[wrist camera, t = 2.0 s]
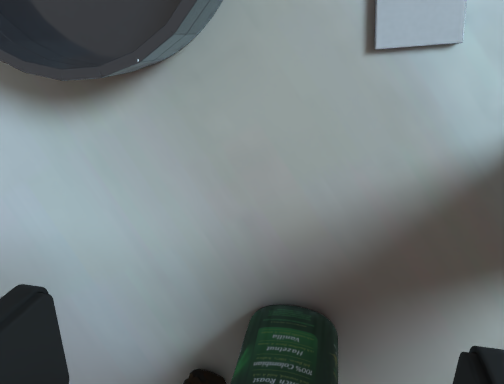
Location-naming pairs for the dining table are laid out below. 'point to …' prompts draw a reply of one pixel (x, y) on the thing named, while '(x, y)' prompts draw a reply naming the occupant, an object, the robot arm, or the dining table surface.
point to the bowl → (96, 34)
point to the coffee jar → (288, 348)
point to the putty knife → (418, 22)
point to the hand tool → (204, 378)
